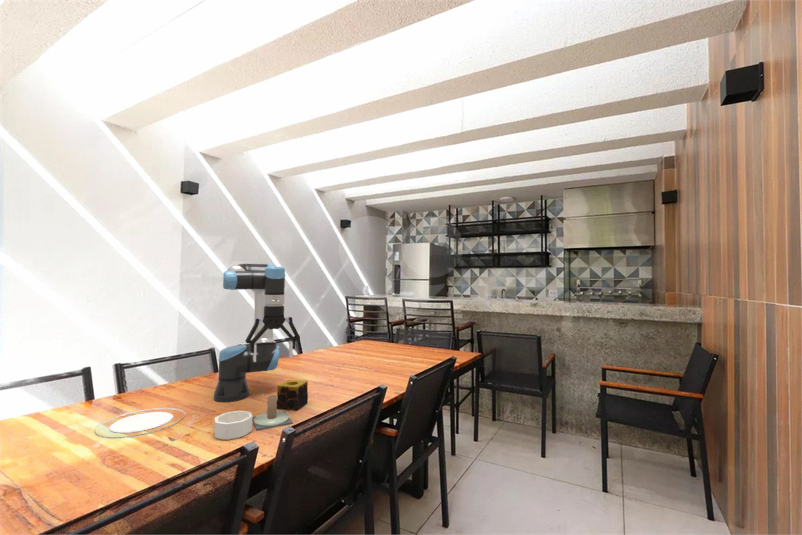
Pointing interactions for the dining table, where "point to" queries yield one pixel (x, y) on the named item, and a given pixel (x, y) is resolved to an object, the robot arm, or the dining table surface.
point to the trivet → (271, 426)
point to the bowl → (232, 425)
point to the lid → (271, 414)
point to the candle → (292, 395)
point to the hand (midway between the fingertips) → (273, 359)
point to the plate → (141, 422)
